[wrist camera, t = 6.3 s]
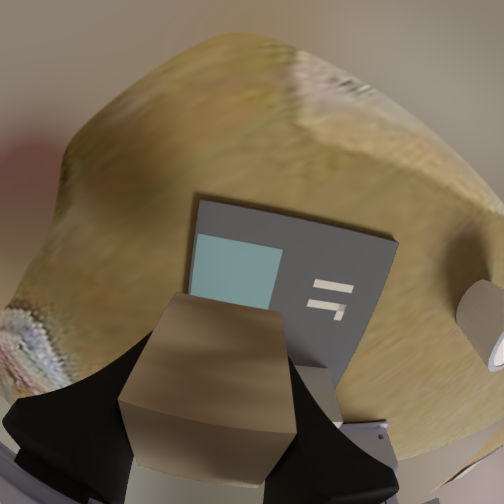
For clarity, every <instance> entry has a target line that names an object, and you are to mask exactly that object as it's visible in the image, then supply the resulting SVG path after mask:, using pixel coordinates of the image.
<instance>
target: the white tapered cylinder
mask: <svg viewBox="0 0 504 504" xmlns="http://www.w3.org/2000/svg"><path fill="white" fill-rule="evenodd" d="M456 323H457V325H458V326H459V327H460V329H461V330H462V332H463V333H464V334H465V336H466V337H467V338H468V340H469V341H470V343H471V344H472V345H473V347H474V348H475V350H476V351H477V353H478V354H479V356H480V357H481V359H482V360H483V362H484V363H485V365H486V366H487V368H488V369H489V370H490V371H491V372H494V371H498V370H500V369H501V368H503V367H504V289H503V288H501V287H499V286H497V285H495V284H493V283H492V282H490V281H488V280H484V279H481V280H479V281H476V282H475V283H474V284H473V285H471V286H470V287H469V288H468V290H467V291H466V292H465V294H464V295H463V297H462V298H461V301H460V303H459V305H458V307H457V312H456Z"/></svg>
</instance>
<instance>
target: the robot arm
mask: <svg viewBox="0 0 504 504" xmlns="http://www.w3.org/2000/svg"><path fill="white" fill-rule="evenodd" d="M152 333H153V331H152V332H150V333H149V334H148V335H147V336H145V337H144V338H143V339H142V340H141V341H139V342H138V343H137V344H136V345H135V346H133V347H132V348H131V349H130V350H128V351H127V352H126V353H124V354H123V355H122V356H121V357H119V358H118V359H116V360H115V361H113V362H112V363H110V364H109V365H107V366H106V367H104V368H103V369H101V370H100V371H98V372H96V373H94V374H93V375H91V376H89V377H87V378H85V379H83V380H81V381H79V382H76V383H74V384H72V385H69V386H67V387H64V388H61V389H58V390H55V391H52V392H48V393H45V394H41V395H36V396H30V397H25V398H18V399H17V400H16V402H15V403H14V404H13V405H12V407H11V408H10V410H9V411H8V413H7V414H6V415H5V417H4V418H3V420H2V423H3V426H4V428H5V429H6V431H7V432H8V433H9V435H10V436H11V437H12V438H13V439H14V441H15V442H16V443H17V444H18V445H19V447H20V448H21V449H20V450H19V452H18V454H15V453H14V452H13V451H11V450H10V449H9V448H8V447H6V446H5V445H4V444H3V443H1V442H0V503H1V504H124V501H125V495H126V489H127V484H128V479H129V474H130V470H131V465H132V461H133V457H134V454H133V451H132V448H131V445H130V442H129V438H128V435H127V432H126V429H125V425H124V422H123V418H122V414H121V410H120V406H119V402H118V397H119V395H120V393H121V391H122V390H123V388H124V386H125V384H126V382H127V380H128V378H129V376H130V374H131V372H132V370H133V368H134V366H135V364H136V362H137V361H138V359H139V357H140V355H141V353H142V351H143V349H144V347H145V346H146V344H147V342H148V340H149V338H150V336H151V335H152ZM288 363H289V371H290V379H291V387H292V395H293V404H294V412H295V421H296V430H297V434H296V435H295V437H294V439H293V440H292V442H291V443H290V445H289V446H288V448H287V449H286V451H285V452H284V454H283V455H282V457H281V458H280V459H279V461H278V462H277V464H276V465H275V467H274V468H273V469H272V471H271V472H270V473H269V475H268V476H267V477H266V479H265V490H264V499H263V504H399V503H398V499H397V496H396V493H397V492H398V490H399V485H398V481H397V474H398V462H397V459H396V456H395V453H394V450H393V447H392V445H391V442H390V439H389V436H388V434H387V431H386V427H387V426H388V422H387V421H384V422H374V423H359V424H341V426H340V427H339V428H337V427H336V426H335V425H334V423H333V422H332V421H331V420H330V419H329V418H328V417H327V415H326V414H325V413H324V412H323V410H322V409H321V408H320V406H319V405H318V404H317V402H316V401H315V399H314V398H313V396H312V395H311V393H310V392H309V390H308V389H307V387H306V385H305V384H304V382H303V380H302V379H301V377H300V375H299V373H298V371H297V370H296V368H295V366H294V364H293V362H292V360H291V359H290V357H288ZM424 504H440V503H439V499H438V498H435V499H433V500H431V501H428V502H426V503H424Z"/></svg>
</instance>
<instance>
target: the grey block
mask: <svg viewBox="0 0 504 504" xmlns="http://www.w3.org/2000/svg"><path fill="white" fill-rule="evenodd" d="M294 366H295V368H296V370H297V371H298V373H299V375H300V377H301V379H302V380H303V382H304V384H305V385H306V387H307V389H308V390H309V392H310V393H311V395H312V396H313V398H314V399H315V401H316V402H317V404H318V405H319V406H320V408H321V409H322V410H323V412H324V413H325V414H326V415H327V417H328V418H329V419H330V420H331V421H332V422H333V423H334V425H335V426H336V427H337V428H339V427H340V426H341V424H342V423H343V420H342V416H341V412H340V408H339V405H338V401H337V398H336V394H335V390H334V387H333V383H332V380H331V376H330V373H329V369H328V368H319V367H307V366H297V365H294Z"/></svg>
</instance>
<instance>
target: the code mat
mask: <svg viewBox="0 0 504 504" xmlns="http://www.w3.org/2000/svg"><path fill="white" fill-rule="evenodd" d="M398 245H399V243H398V242H397V241H395V240H391V239H388V238H384V237H380V236H376V235H372V234H368V233H364V232H360V231H356V230H352V229H348V228H344V227H339V226H335V225H331V224H326V223H322V222H318V221H313V220H309V219H304V218H300V217H295V216H290V215H286V214H281V213H276V212H271V211H266V210H261V209H256V208H251V207H246V206H241V205H235V204H230V203H225V202H219V201H213V200H208V199H200V202H199V209H198V216H197V223H196V230H195V237H194V245H193V253H192V261H191V269H190V278H189V288H188V294H189V295H193V296H198V297H203V298H208V299H213V300H218V301H223V302H228V303H233V304H239V305H244V306H250V307H255V308H261V309H267V310H273V311H279V312H282V319H283V326H284V333H285V341H286V348H287V356H288V357H290V359H291V360H292V362H293V364H294V365H297V366H307V367H319V368H328V369H329V373H330V376H331V380H332V383H333V387H334V390H335V388H336V386H337V385H338V383H339V381H340V379H341V377H342V376H343V374H344V372H345V370H346V368H347V366H348V364H349V362H350V361H351V359H352V357H353V355H354V353H355V351H356V349H357V347H358V345H359V342H360V340H361V338H362V336H363V334H364V332H365V330H366V327H367V325H368V323H369V321H370V319H371V316H372V314H373V312H374V309H375V307H376V305H377V302H378V300H379V297H380V295H381V292H382V290H383V287H384V284H385V282H386V279H387V277H388V274H389V271H390V268H391V265H392V263H393V260H394V257H395V254H396V251H397V248H398Z"/></svg>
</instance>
